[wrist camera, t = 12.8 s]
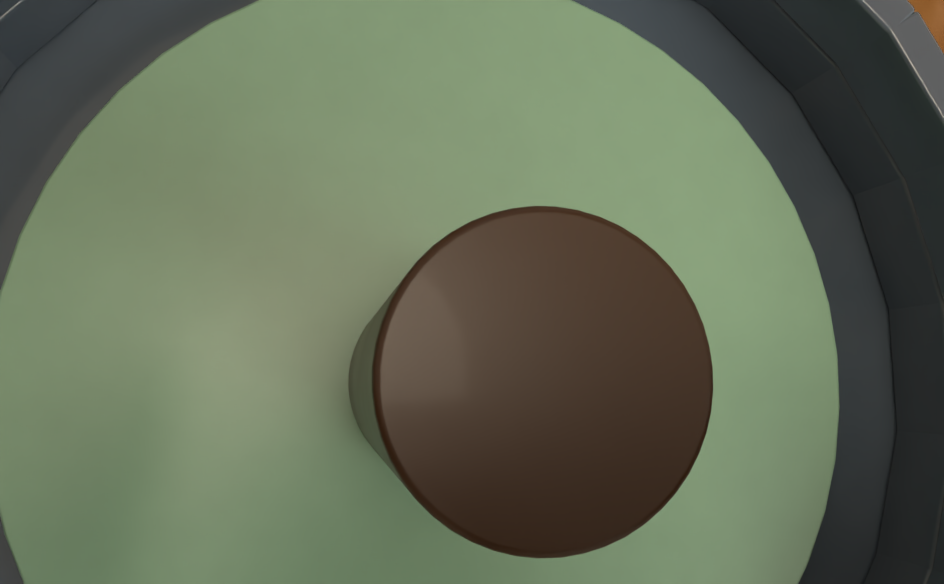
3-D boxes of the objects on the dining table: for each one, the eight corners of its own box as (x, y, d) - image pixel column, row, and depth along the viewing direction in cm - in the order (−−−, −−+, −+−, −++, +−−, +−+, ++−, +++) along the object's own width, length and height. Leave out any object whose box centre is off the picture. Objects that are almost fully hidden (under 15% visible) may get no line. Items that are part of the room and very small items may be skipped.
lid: (684, 892, 14) (1050, 1403, 7) (-133, 665, 12) (-712, 1027, 5) (882, 158, 16) (1329, -22, 9) (193, -118, 14) (73, -598, 7)
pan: (913, 850, 16) (1107, 1003, 12) (-138, 978, 13) (-335, 1233, 9) (850, -65, 17) (1004, -194, 14) (-93, -125, 15) (-245, -310, 11)
